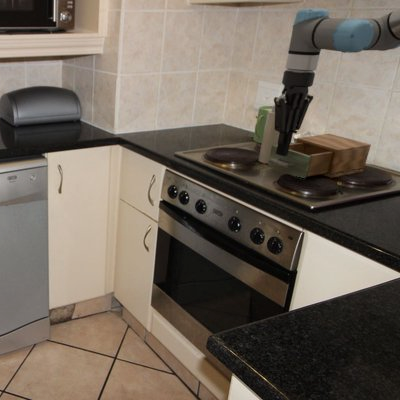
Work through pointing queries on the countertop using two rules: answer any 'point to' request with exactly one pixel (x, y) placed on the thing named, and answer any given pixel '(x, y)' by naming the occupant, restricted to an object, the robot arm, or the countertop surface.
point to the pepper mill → (268, 137)
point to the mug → (261, 123)
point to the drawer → (302, 160)
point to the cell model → (305, 134)
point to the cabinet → (341, 152)
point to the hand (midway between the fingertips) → (281, 154)
